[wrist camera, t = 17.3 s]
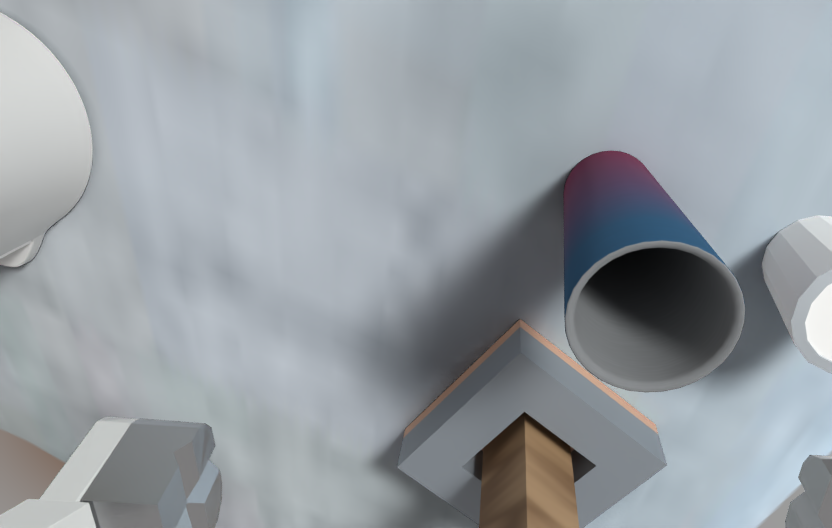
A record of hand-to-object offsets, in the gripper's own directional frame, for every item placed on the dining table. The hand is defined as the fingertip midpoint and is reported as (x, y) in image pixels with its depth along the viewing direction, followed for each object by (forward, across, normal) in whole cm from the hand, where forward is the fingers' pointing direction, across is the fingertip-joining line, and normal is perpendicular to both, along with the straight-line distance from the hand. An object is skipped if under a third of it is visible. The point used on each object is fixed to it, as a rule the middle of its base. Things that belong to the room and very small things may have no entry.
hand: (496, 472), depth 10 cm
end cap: (+31, -4, +25) cm, 41 cm away
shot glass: (+32, -19, +12) cm, 39 cm away
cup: (+32, -7, +8) cm, 34 cm away
